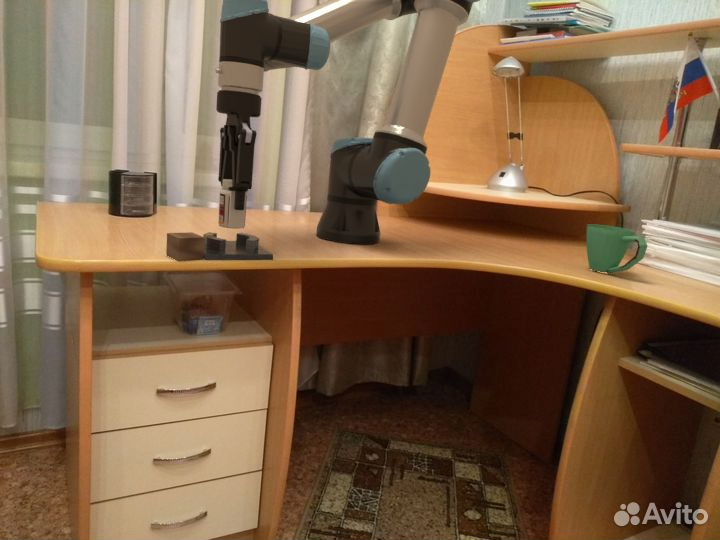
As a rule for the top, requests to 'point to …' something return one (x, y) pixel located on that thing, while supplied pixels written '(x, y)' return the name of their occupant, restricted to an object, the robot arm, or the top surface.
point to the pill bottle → (225, 204)
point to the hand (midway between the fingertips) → (231, 224)
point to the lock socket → (234, 248)
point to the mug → (611, 247)
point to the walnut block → (185, 246)
